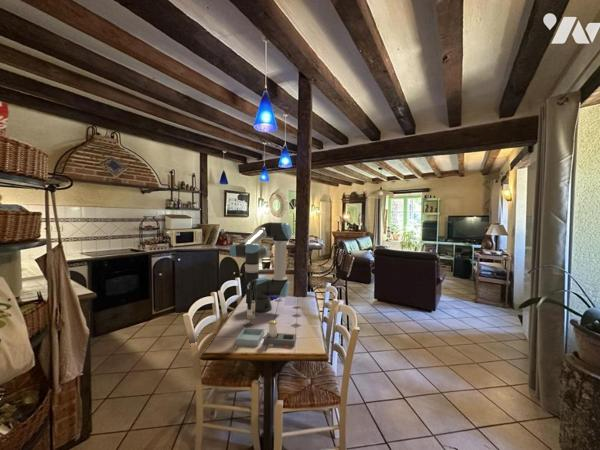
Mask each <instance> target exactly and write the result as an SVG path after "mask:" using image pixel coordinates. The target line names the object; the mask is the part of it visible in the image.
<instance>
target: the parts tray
mask: <svg viewBox="0 0 600 450" xmlns="http://www.w3.org/2000/svg"><path fill="white" fill-rule="evenodd" d="M264 335H265V328H252V327H251V328H250V327H244V328H243V329H242V330H241V331H240V333H239V334H238V335H237V337H236V338H235V345H240V346H253V347H255V346H256V347H259V344H260V343H261V341H262V339H263V337H264Z"/></svg>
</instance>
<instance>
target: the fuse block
mask: <svg viewBox="0 0 600 450" xmlns="http://www.w3.org/2000/svg"><path fill="white" fill-rule="evenodd" d="M296 342H297V334H296V333H283V332H282V333H281V332H280V333H279V332H277V339H274V338H269V331H268V332H267V333H266V334H265V337H264V339H263V346H264V345H266V346H267V345H268V347H274V346H280V347H284V348H290V347H296Z"/></svg>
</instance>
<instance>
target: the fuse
mask: <svg viewBox="0 0 600 450" xmlns="http://www.w3.org/2000/svg"><path fill="white" fill-rule="evenodd" d="M268 322H269V323H268V333H269V338H274V339H277V333H278V320H275V319H271V320H269V321H268Z"/></svg>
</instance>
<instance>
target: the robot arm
mask: <svg viewBox="0 0 600 450" xmlns="http://www.w3.org/2000/svg"><path fill="white" fill-rule="evenodd" d="M291 238H292V228H291V225H290V224H289V223H288V222H271V221H270V222H266V223H263V224H262V223H261V224H260V225H259V226H257V227H256V228H255V229H254V230H253V232H252V233H251V234H249V235H248V236H247V237H246V238H244V239H243V240H242V241H241V242H240V243H239V244H237V243H236V244H231V246H230V247H229V255H230V257H234V258H244V259H245V260H244V262H245V264H244V271H245V272H244V278H245V280H247V283H246V284H245V304H246V316H247V315H252V305H253V303H252V300H255V313H266V312H269V311H271V310H272V309H273V307H272V306H273V304H272V302H271V300H270V296H275V297H278V298H287V296H288V295H289V292H290V289H291V282H290V281H289V280H288V279H289V278H288V277H287V276H286V269H287V266H286V265H287V244H288V243H289V240H290V239H291ZM265 239H272V242H273V243H274V259H273V260H274V262H273V276H272V277H271V278H270V276H263V277H259V273H260V259H264V258H265V257H266V256H267V255H268V253H269V251H268V250H269V249H268V247H267V246H265V245H264V244H263V245H261V244H259V242H261V241H263V240H265Z"/></svg>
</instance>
